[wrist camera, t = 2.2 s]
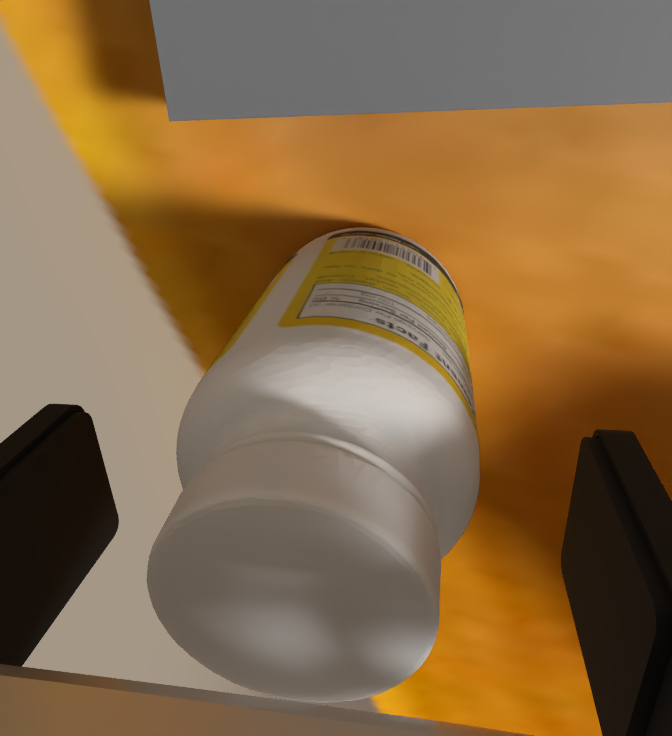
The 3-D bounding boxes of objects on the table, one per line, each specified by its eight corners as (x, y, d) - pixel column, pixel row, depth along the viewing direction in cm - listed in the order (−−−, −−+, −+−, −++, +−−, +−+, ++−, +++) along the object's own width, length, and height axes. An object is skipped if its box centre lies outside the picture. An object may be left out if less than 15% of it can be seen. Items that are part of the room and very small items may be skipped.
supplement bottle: (324, 423, 18) (217, 750, 9) (239, 269, 16) (6, 508, 7) (493, 368, 16) (550, 713, 8) (421, 187, 14) (389, 380, 6)
